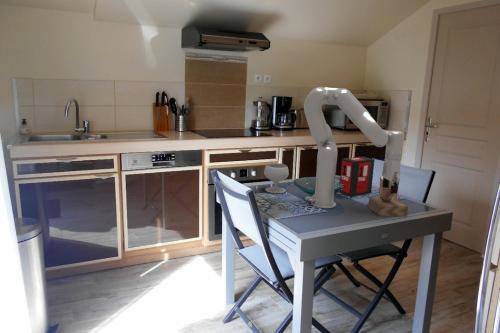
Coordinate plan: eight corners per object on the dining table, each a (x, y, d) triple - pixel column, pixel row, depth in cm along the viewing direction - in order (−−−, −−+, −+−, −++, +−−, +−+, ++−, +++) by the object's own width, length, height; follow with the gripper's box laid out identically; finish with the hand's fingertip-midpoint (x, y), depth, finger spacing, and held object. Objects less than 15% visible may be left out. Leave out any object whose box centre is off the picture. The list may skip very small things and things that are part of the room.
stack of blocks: (378, 191, 226) (380, 171, 224) (389, 192, 225) (392, 171, 222) (384, 202, 206) (387, 180, 203) (396, 203, 205) (399, 181, 202)
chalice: (289, 188, 225) (290, 163, 222) (286, 195, 212) (287, 169, 208) (265, 186, 228) (267, 162, 225) (261, 193, 215) (262, 167, 211)
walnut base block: (378, 215, 184) (379, 206, 183) (368, 206, 198) (369, 197, 197) (407, 216, 185) (408, 206, 184) (394, 206, 199) (395, 197, 197)
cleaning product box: (359, 189, 229) (362, 156, 224) (371, 193, 221) (374, 159, 217) (338, 192, 221) (341, 158, 216) (350, 196, 213) (353, 161, 209)
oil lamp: (392, 199, 194) (395, 184, 191) (397, 202, 190) (400, 186, 188) (377, 200, 191) (379, 184, 189) (381, 203, 188) (384, 187, 185)
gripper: (378, 152, 193) (375, 185, 197) (393, 160, 176) (389, 195, 180) (393, 153, 194) (389, 185, 198) (409, 160, 177) (404, 195, 181)
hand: (389, 190), depth 189 cm, fingers open, 9 cm apart
